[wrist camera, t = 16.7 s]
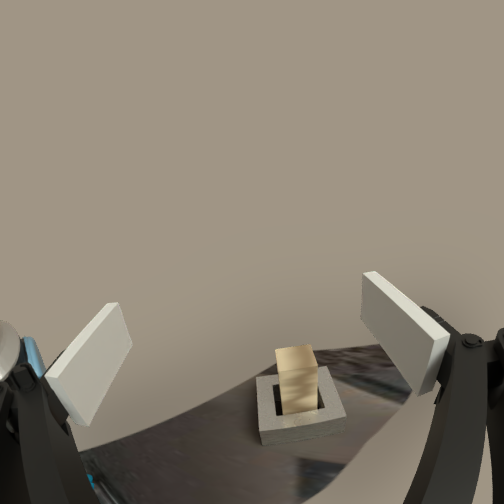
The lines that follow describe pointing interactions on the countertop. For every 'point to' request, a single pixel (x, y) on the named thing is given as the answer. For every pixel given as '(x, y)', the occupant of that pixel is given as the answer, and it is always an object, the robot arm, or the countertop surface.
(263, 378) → the grey square frame block
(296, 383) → the upright pine post
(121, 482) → the countertop surface
